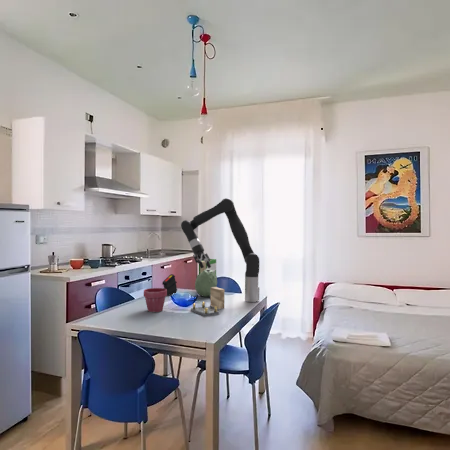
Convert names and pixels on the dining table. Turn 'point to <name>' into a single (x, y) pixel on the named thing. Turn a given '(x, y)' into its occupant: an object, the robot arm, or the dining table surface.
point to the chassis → (204, 310)
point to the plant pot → (155, 299)
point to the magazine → (170, 285)
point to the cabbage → (205, 282)
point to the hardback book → (212, 263)
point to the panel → (217, 297)
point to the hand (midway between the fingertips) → (206, 267)
